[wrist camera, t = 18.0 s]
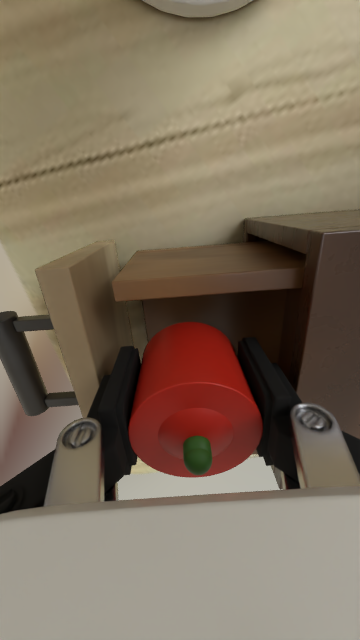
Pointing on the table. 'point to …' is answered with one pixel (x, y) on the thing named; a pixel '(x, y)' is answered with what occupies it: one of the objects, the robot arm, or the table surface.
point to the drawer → (151, 308)
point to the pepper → (193, 404)
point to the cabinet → (323, 309)
